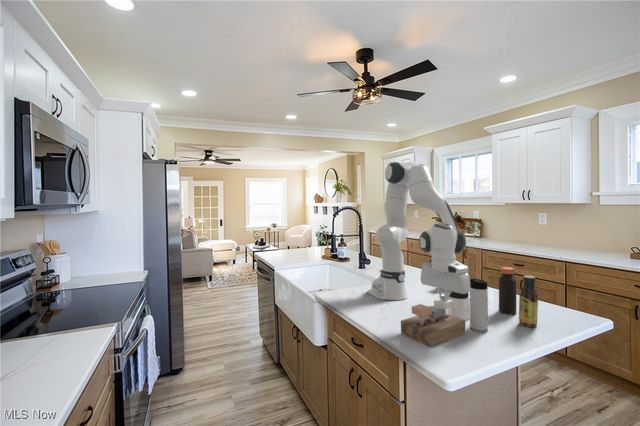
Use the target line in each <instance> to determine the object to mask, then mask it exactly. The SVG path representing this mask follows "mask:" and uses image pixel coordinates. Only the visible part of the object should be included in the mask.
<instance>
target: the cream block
mask: <svg viewBox="0 0 640 426" xmlns="http://www.w3.org/2000/svg"><path fill="white" fill-rule="evenodd" d="M433 306H434V307H437V308H440V309H443V316H441V318H444V319H445V318H446V314H447V309H449V308H452V307H453V301H452V300H448V301H445V300H441V299H440V298H437V299H433Z"/></svg>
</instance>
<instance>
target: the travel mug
mask: <svg viewBox="0 0 640 426" xmlns="http://www.w3.org/2000/svg"><path fill="white" fill-rule="evenodd" d="M488 285H489V284H488V281H485V280H484V279H479V278H470V291H469V298H470V319H469V329H470V330H471V331H473V332H476V333H479V334H480V333H487V332H488V331H489V328H488V327H489V326H488V325H489V323H488V322H489V317H488V316H489V313H488V312H489V311H488V310H489V308H488V307H489V306H488V305H489V303H488V302H489V299H488V298H489V296H488V295H489V293H488V290H489V289H488Z"/></svg>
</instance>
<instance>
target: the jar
mask: <svg viewBox="0 0 640 426" xmlns="http://www.w3.org/2000/svg"><path fill="white" fill-rule="evenodd" d="M449 300H452V301H453V307H452V308H449V309H446V314H448V315H451V316H454V317H457V318H460V319H463V320H465V322H466V321H468V320H470V292H469V293H466V294H461V293H457V292H453V291H451V294H450V295H449Z"/></svg>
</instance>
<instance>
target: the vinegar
mask: <svg viewBox="0 0 640 426" xmlns="http://www.w3.org/2000/svg"><path fill="white" fill-rule="evenodd" d="M500 271H501V272H500V273H501V276H500V277H499V278H498V311H499V313H500V314H504V315H509V316H514V315H516V314H517V279H516V278H515V277H514V274H515V269H514V268H513V267H509V266H503V267H501V268H500Z"/></svg>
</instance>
